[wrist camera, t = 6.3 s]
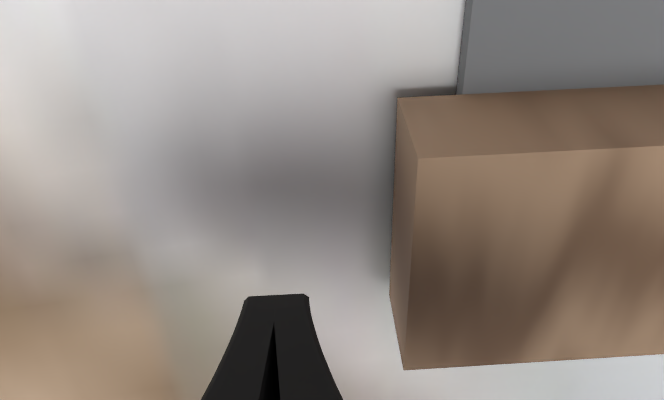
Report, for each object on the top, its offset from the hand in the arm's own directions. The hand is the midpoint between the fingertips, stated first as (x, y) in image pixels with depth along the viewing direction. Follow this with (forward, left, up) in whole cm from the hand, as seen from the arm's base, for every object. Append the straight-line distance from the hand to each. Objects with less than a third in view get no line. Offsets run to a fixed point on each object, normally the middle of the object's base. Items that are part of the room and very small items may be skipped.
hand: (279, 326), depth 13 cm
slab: (0, -3, -3) cm, 4 cm away
